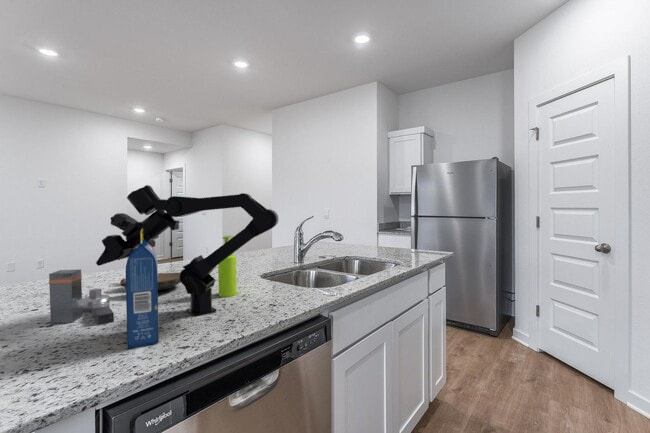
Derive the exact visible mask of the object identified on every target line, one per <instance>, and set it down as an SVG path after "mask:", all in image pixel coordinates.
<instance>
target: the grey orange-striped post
mask: <svg viewBox="0 0 650 433" xmlns="http://www.w3.org/2000/svg"><path fill="white" fill-rule="evenodd" d="M82 278H83V276H82V269H81V268H80V269H61V270H60V269H59V270H57V271H54V272H52V273H49V274H48V284H49V310H50V311H49V312H50V325H57V324H59V325H60V324H72V323H74V322H76V321H77V320H79V319H81V318H82V317H83V311H82V298H83V289H82V288H83V287H82V284H83V283H82Z"/></svg>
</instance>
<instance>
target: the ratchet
mask: <svg viewBox="0 0 650 433" xmlns="http://www.w3.org/2000/svg"><path fill="white" fill-rule="evenodd" d="M88 292H89V296H86V297H82V312H87V313H88V312H90V313H91V314H92V315H93V319H94V320H95V322H96V324H97V325H98V326H100V325H101V326H102V325H104V324H110V323H114V321H115V317H114V316H115V312H114V311H113V310H112V309H111V305H110V300H111V298H110V295H109V294H102V288H93V289H89V291H88Z"/></svg>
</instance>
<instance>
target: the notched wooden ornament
mask: <svg viewBox="0 0 650 433" xmlns="http://www.w3.org/2000/svg"><path fill="white" fill-rule="evenodd" d="M180 273H181V272H163V273H160V272H158V292H159V291H163V290H168V289H171V288H173V287H175V286H177V285H179V284H182V283H181V281H180ZM119 284H120V286H121V287H122V288H123V287H124V289H126V277H124V278H122V279H121V280H120V282H119Z"/></svg>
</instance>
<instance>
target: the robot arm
mask: <svg viewBox="0 0 650 433" xmlns="http://www.w3.org/2000/svg"><path fill="white" fill-rule="evenodd" d="M126 199H127V200H128V201H129V203H130V204H131V205H132V206H133V207H134V208H135V210H136V211H137V213H139V215H145V216H148V217H146V218H144V220H142V221H138V220H137V219H135V218H133V217H132V216H130V215H128V214H126V213H123V212H121V213H120V212H119V213H116V214H113V216H111V217H110V225H111V226H113V227H116V228H118V229H119V230H121V231H122V232H121V234H122V235H123V237H125V239H124V238H123V237H122V236H121V234H111V235H107V236H106V237H105V238H103V239H102V240H101V243H102V244H103V246H104V250H103V252H102V253H101V255H100V256H99V258H98V259H97V260H96V262H95V264H96V265H97V266H103V265H105V264H108V263H112V262H115V261H120V260H123V259H128V257H129V255H130V253H131V251H132V250H133V249H134V248H135V246H136V245H137V244H138V243H139V242H140V241H141V230H142V228H143V239H144V240H145V241H146V242H147V243H148V244H150V245H151V246H152V247H153V248H154V247H156V240H157V239H158V238H159V237H160V235H161V234H162V233H164V232H165V231H166V230H168V229H170V230H171V231H178V230H179V229H180V220H176V219H175V218H180V217H187V216H190V215H194V214H197V213H198V214H199V213H200V212H203V211H212V210H213V211H214V210H225V209H235V208H241V209H242V210H244V211H245V212H246V213H247V214H248V215H249V216H250V217H251V220H250V222H249V223H247V225H246V226H245V227H244V228H243V229H241V231H239V232H238V233H236V235H234V237H233V238H230V240H229V241H227V242H226V243H225V242H224V243H223V244H222V245H221V246H220V247H218V248H217V249H216V250H214V251H213V252H211V253H210V254H208V255H207V257H205V258H204V257H203V255H202V254H201V255H198V256H197V257H194V258H193V259H192V260H191V261H190V262H189V263H188V264H185V265H183V266H182V270H181V271H180V272H179V273H180V281H181V283H180V284H182V285H183V286H184V288H185V290H186V293H187V295H190V307H189V308H186V312H188V313H189V314H190V315H192V316H193V317H194V316H195V317H196V316H201V315H206V314H209V313H213V312H217V308H216V307H214V306H213V297H212V296H213V295H212V294H213V293H212V292H213V290H212V288H213V287H214V286H215V283H216V279H215V278H214V277H213V276H212V275H211V273H212V272H213V271H214V270H215V268H216V267H217V266H218V264H219V263H221V262H222V261H223V260H225V259H226V258H227V257H229V256H230V255H231V254H232V255H234V253H235V252H237V251H238V250H239V249H241V248H242V247H244V246H245V245H246V244H247V243H249V242H250V241H251V240H252V239H254V238H255V237H258V236H259V235H260V236H261V235H262V234H265V233H266V232H268V231H271V229H273V228H275V227H276V226H277V225H278V223H279V215H278V214H277V212H276V211H275V210H274V209H270V208H266V207H265V206H264V205H262V204H261V203H259V202H258V201H257V200H255V199H254V198H253V197H252V196H251V195H250V194H248V193H244V192H243V193H239V194H230V195H220V196H210V197H193V196H192V197H191V196H177V195H173V196H169V197H168V198H167V199H164V198H163V199H161V198H160V197H159V196H158V194H157V193H156V192H155V191H154V189H153V187H152V186H151V185H148V184H146V185H144V186H143V187H139V188H137V189H136V190H133V191H131V192H130V193H129V194H128V195H127V196H126ZM174 217H175V218H174Z"/></svg>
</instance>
